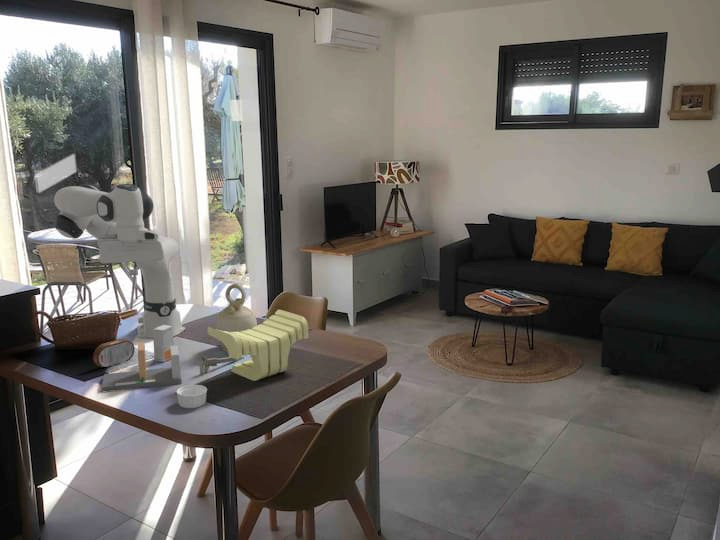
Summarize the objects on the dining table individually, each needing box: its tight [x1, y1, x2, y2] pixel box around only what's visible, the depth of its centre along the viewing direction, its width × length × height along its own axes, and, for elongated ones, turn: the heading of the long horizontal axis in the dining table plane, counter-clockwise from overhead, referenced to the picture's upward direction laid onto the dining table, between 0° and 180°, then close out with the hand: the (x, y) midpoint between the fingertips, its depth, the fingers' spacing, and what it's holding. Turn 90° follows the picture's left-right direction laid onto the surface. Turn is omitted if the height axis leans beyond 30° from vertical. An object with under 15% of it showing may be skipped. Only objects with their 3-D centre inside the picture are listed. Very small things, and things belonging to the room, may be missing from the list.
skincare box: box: [152, 325, 174, 363], centre depth 223 cm, size 6×4×12 cm
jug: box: [215, 283, 258, 353], centre depth 234 cm, size 15×16×25 cm
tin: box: [92, 338, 135, 368], centre depth 218 cm, size 15×3×8 cm, turn 145°
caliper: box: [199, 355, 245, 375], centre depth 217 cm, size 20×1×6 cm, turn 147°
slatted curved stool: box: [207, 308, 309, 382], centre depth 211 cm, size 30×16×18 cm, turn 137°
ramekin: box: [176, 384, 208, 409], centre depth 186 cm, size 9×9×4 cm
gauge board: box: [101, 344, 182, 393], centre depth 203 cm, size 24×12×10 cm, turn 108°
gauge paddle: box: [137, 342, 147, 382], centre depth 201 cm, size 2×10×10 cm, turn 18°
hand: (133, 274), depth 208 cm, fingers closed
